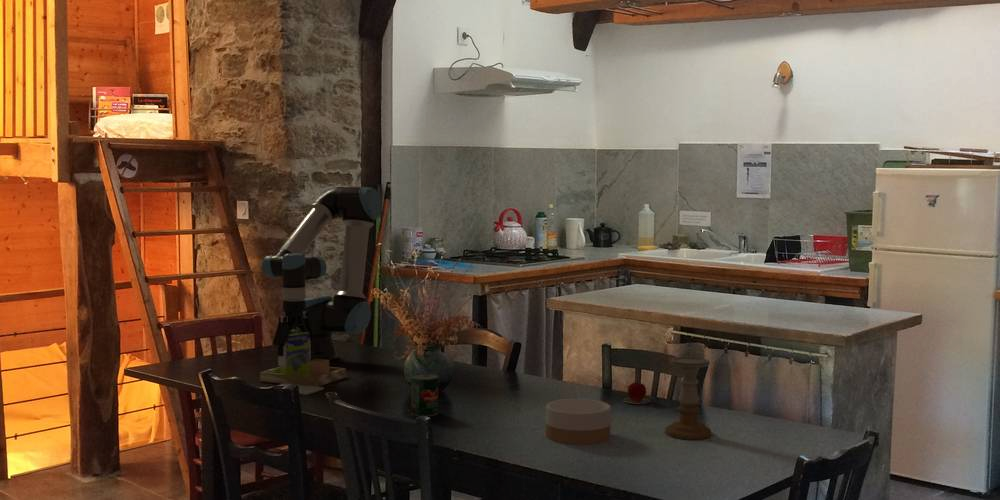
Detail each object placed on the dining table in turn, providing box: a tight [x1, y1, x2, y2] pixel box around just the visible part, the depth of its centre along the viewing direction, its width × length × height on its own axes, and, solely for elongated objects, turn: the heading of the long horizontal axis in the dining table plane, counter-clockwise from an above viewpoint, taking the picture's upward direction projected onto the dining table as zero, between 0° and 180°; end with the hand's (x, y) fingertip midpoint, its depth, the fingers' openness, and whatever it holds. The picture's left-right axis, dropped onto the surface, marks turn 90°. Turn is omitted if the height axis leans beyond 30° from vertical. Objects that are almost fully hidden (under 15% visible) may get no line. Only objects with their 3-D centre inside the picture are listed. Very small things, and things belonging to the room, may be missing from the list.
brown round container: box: [545, 398, 612, 446], centre depth 274 cm, size 17×17×8 cm
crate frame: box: [259, 366, 347, 387], centre depth 346 cm, size 18×22×3 cm
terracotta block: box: [309, 359, 330, 377], centre depth 343 cm, size 4×5×7 cm
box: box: [279, 327, 310, 377], centre depth 347 cm, size 10×4×17 cm, turn 142°
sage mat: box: [277, 383, 324, 396], centre depth 330 cm, size 9×15×1 cm, turn 65°
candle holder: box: [664, 356, 712, 440], centre depth 276 cm, size 12×12×20 cm
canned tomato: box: [410, 373, 439, 417], centre depth 298 cm, size 8×8×11 cm
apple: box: [623, 382, 650, 405], centre depth 314 cm, size 8×8×6 cm
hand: (294, 362), depth 347 cm, fingers open, 13 cm apart
